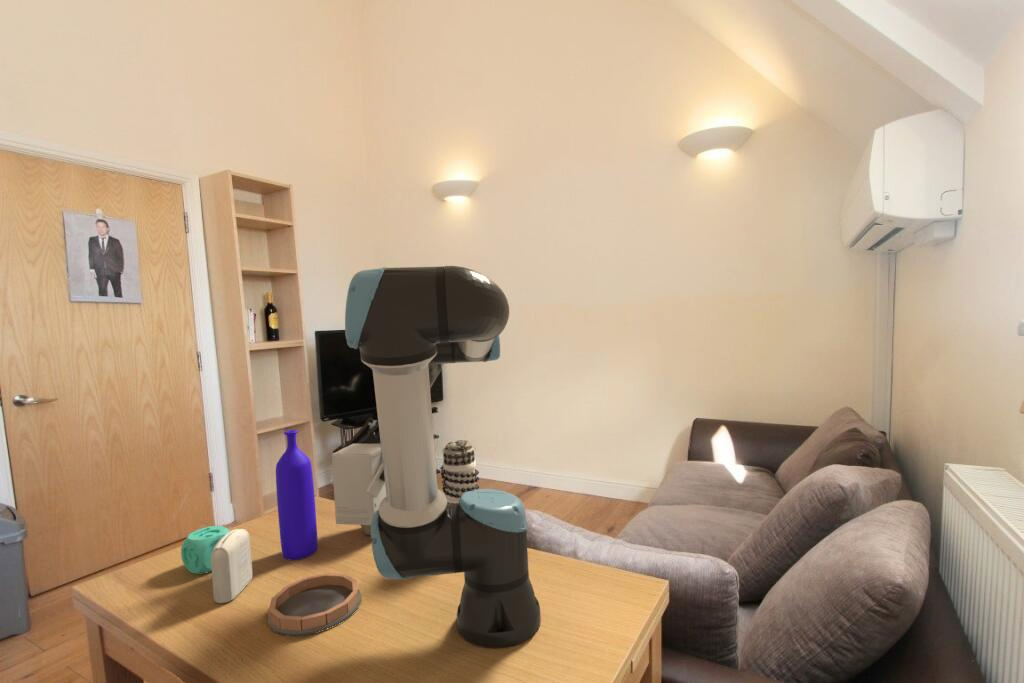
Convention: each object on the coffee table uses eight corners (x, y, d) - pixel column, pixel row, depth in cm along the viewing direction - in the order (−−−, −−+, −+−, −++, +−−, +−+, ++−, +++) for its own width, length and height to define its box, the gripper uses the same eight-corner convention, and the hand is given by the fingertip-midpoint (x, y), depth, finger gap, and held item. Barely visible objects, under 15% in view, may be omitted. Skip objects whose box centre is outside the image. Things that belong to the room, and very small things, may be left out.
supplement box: (374, 526, 104) (370, 454, 103) (334, 525, 106) (329, 454, 105) (393, 509, 113) (389, 442, 112) (356, 508, 114) (352, 442, 114)
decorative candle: (440, 540, 127) (434, 441, 125) (474, 532, 130) (469, 436, 129) (451, 556, 118) (445, 450, 117) (488, 546, 122) (482, 444, 121)
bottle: (325, 549, 125) (316, 428, 123) (295, 563, 118) (285, 436, 116) (304, 542, 130) (295, 426, 128) (274, 556, 123) (264, 433, 121)
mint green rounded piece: (215, 555, 125) (212, 523, 124) (236, 560, 121) (233, 528, 121) (182, 570, 118) (179, 537, 117) (203, 577, 114) (200, 542, 114)
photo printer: (236, 578, 113) (231, 524, 112) (255, 577, 113) (251, 522, 112) (210, 605, 103) (205, 545, 102) (232, 603, 103) (227, 544, 102)
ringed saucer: (378, 602, 100) (377, 588, 100) (294, 648, 87) (293, 633, 87) (332, 576, 111) (331, 564, 111) (252, 614, 99) (251, 600, 98)
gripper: (449, 416, 114) (401, 507, 102) (378, 409, 127) (329, 489, 116) (431, 397, 109) (379, 490, 97) (360, 392, 123) (306, 473, 111)
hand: (352, 489), depth 107 cm, fingers closed on supplement box, 11 cm apart
